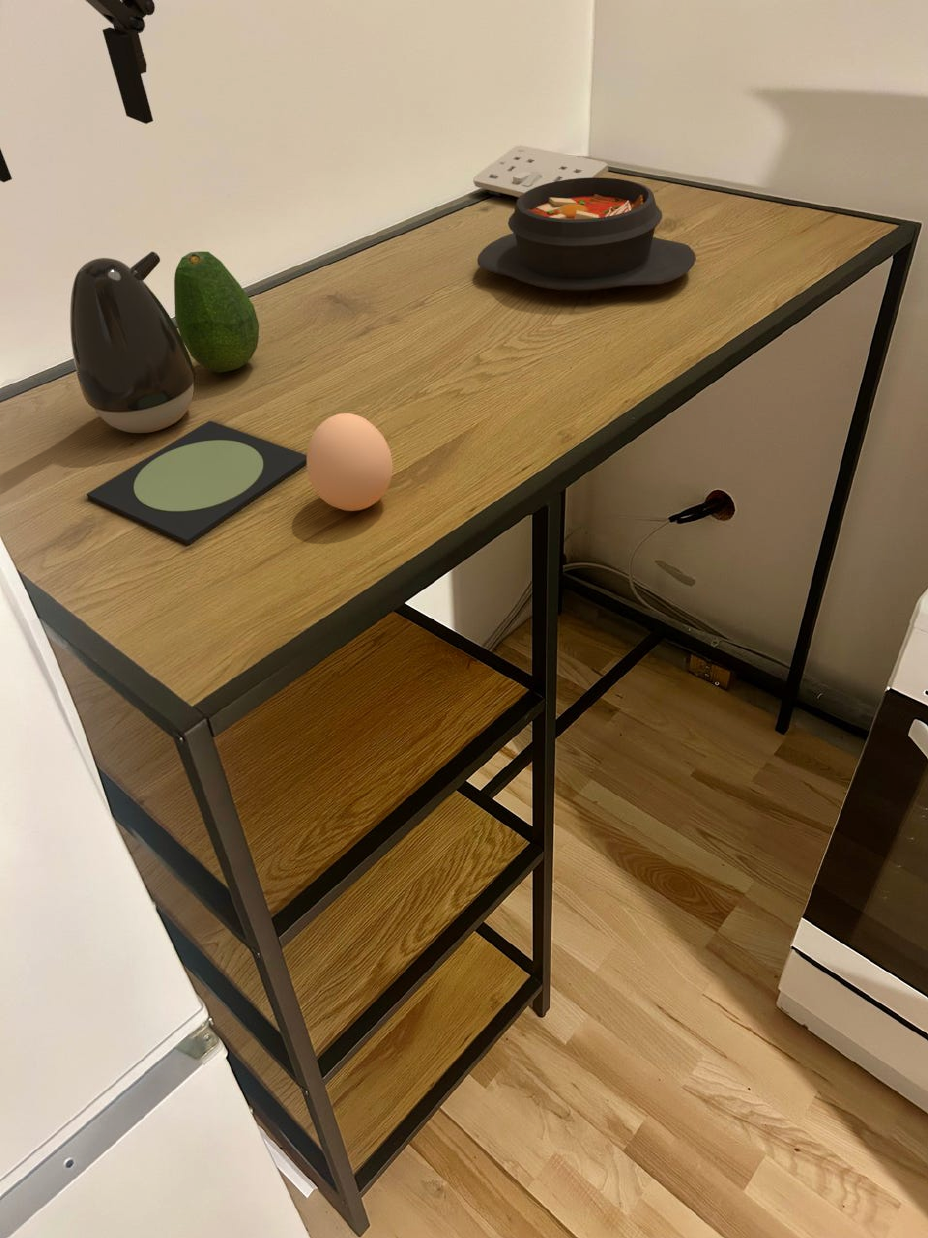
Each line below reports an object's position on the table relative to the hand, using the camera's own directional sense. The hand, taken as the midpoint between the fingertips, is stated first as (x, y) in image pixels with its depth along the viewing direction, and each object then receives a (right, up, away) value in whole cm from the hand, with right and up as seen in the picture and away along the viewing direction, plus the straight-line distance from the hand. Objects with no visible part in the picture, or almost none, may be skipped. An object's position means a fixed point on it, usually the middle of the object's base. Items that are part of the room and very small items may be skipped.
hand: (72, 146), depth 75 cm
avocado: (+8, -13, +20) cm, 25 cm away
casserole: (+46, +1, +31) cm, 56 cm away
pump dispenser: (+2, -20, +13) cm, 24 cm away
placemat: (+9, -27, +4) cm, 28 cm away
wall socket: (+42, +20, +53) cm, 71 cm away
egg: (+23, -29, -1) cm, 38 cm away
